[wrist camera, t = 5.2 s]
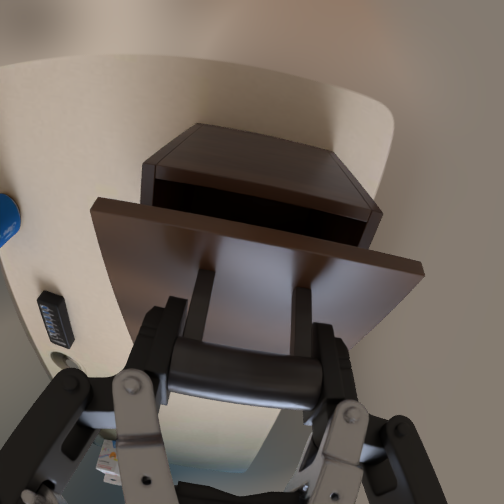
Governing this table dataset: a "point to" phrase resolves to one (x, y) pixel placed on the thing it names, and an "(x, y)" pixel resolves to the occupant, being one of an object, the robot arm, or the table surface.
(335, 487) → the robot arm
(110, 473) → the white cardboard box
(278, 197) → the bin
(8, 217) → the beverage can
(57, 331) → the multiport hub
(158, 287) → the lid
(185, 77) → the table surface
